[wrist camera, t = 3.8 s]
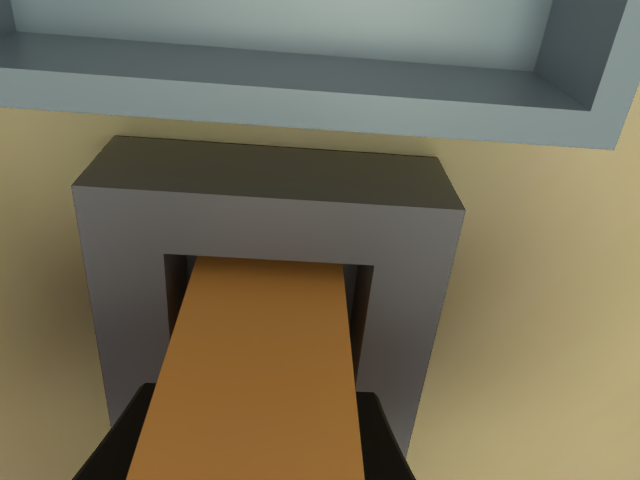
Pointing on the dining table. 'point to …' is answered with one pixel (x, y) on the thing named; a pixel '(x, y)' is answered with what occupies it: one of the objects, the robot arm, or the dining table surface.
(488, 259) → the dining table surface
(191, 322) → the orange rectangular block
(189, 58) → the parts tray
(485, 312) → the dining table surface
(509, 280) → the dining table surface
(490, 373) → the dining table surface
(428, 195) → the block
